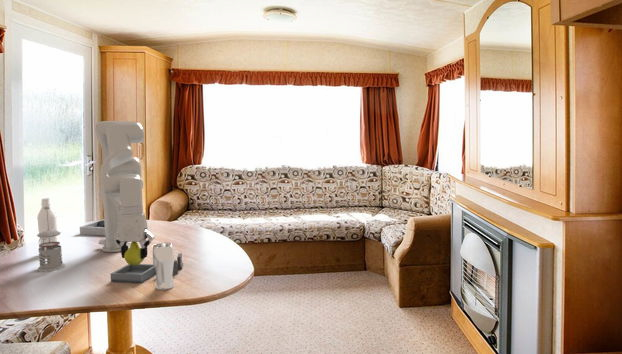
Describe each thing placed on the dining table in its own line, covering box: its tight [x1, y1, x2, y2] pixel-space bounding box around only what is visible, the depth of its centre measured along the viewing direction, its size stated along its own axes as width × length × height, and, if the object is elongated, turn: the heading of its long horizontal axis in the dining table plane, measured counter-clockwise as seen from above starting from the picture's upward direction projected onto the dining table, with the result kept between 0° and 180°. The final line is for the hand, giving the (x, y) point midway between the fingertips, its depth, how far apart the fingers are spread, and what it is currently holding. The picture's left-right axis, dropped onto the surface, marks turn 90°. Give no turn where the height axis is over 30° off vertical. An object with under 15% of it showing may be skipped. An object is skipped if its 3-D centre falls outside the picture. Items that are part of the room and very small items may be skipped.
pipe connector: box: [97, 219, 105, 227], centre depth 231 cm, size 12×5×15 cm
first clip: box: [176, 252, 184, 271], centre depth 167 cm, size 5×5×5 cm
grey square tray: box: [110, 263, 156, 284], centre depth 156 cm, size 12×12×3 cm
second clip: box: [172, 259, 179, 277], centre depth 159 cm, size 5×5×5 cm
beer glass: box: [152, 242, 175, 291], centre depth 145 cm, size 7×7×15 cm
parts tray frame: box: [79, 218, 105, 236], centre depth 233 cm, size 24×24×4 cm
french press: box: [36, 206, 66, 272], centre depth 168 cm, size 10×12×25 cm
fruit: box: [123, 242, 145, 266], centre depth 155 cm, size 7×7×12 cm
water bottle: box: [36, 198, 58, 250], centre depth 185 cm, size 7×7×25 cm
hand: (134, 257), depth 156 cm, fingers closed on fruit, 6 cm apart
